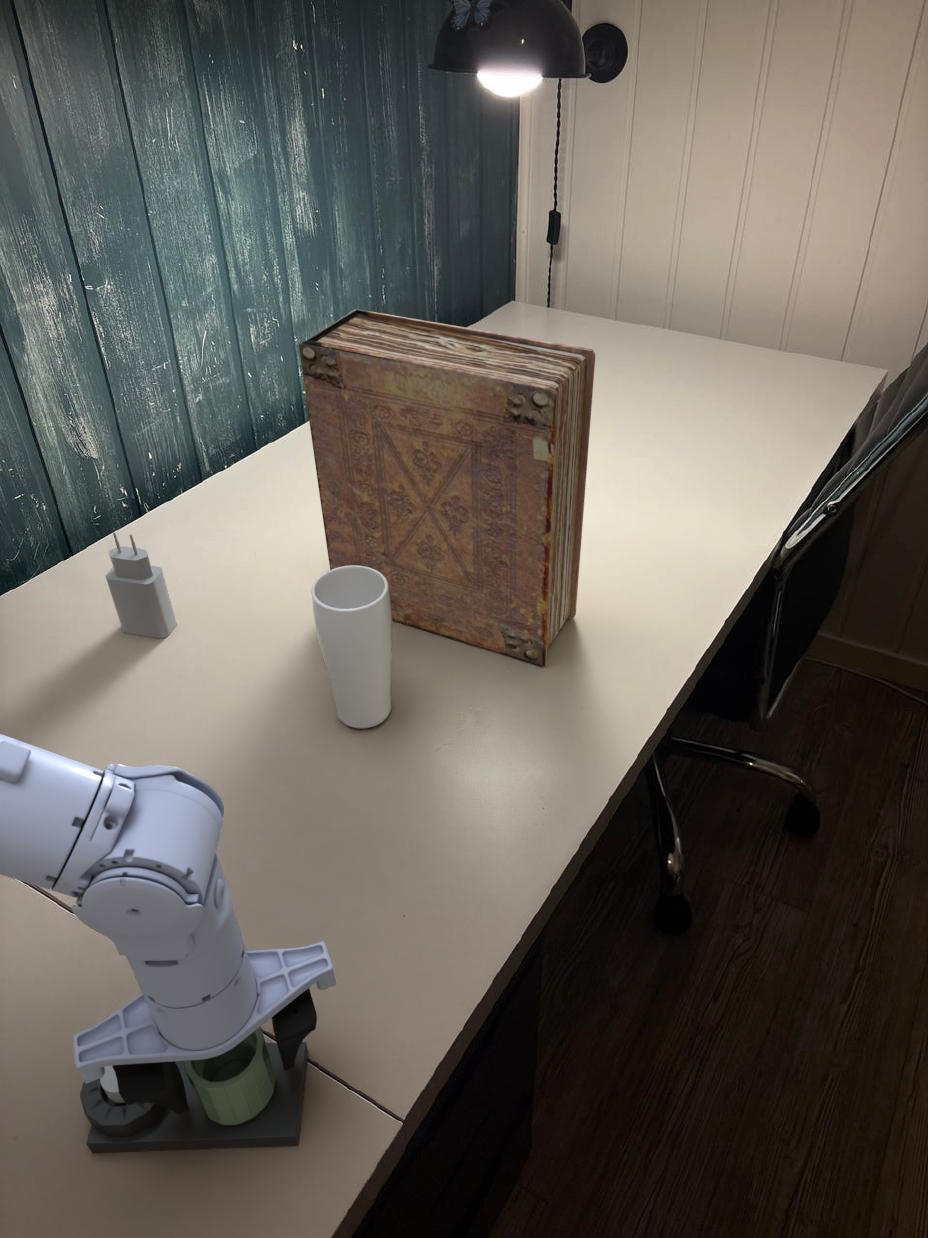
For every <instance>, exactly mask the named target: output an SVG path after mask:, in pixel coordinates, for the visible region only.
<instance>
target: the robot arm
mask: <svg viewBox="0 0 928 1238" xmlns="http://www.w3.org/2000/svg"><path fill="white" fill-rule="evenodd" d="M224 806H225V805H224V803H223V800H222V798H221V796H220V795H219V793H218V791H216V790H215V789H214V788H213V787H212V786H211V785H210V784H209V783H208V782H207V781H205V780H203V779H201V777H198V776H196V775H194V774H192V773H189V772H187V771H186V770H184V769H182V768H180V767H177V766H170V765H164V764H163V765H160V764H151V765H149V764H148V765H141V766H128V765H124V764H121V763H116V764H112V763H107V764H106V766H105V767H104V769H103V770H102V769H99V768H97V767H94V766H92V765H88V764H86V763H83V762H80V761H78V760H74V759H72V758H69V757H66V756H63V755H60V754H58V753H55V752H52V751H50V750H46V749H43V748H42V747H38V746H35V745H33V744H30V743H27V742H25V741H22V740H19V739H16V738H13V737H10V736H7V735H5V734H3V733H0V876H4V877H7V878H10V879H13V880H16V881H19V882H23V883H27V884H30V885H32V886H36V887H39V888H43V889H46V890H51V891H53V892H55V893H58V894H62V895H66V896H69V897H72V898H76V900H75V904H76V905H72V906H71V907H70V910H71V911H72V913H73V914H74V915H75V917H76V918H77V919H78V920H79V921H80V922H81V923H82V924H84V926H86V927H88V928H89V929H91V930H92V931H94V932H97V933H98V934H100V935H103V936H104V937H106V938H108V939H109V940H110V941H111V942H112V943H113V944H114V946H115V948H116V950H117V952H118V955H120V956H124V957H126V959H127V961H128V964H129V967H130V968H131V971H132V972H133V975H134V977H135V979H136V981H137V984H138V986H139V988H140V991H141V993H140V994H138V995H137V996H135V997H134V998H132V999H131V1000H130V1001H128V1002H127V1003H125V1004H124V1005H123V1006H121V1007H120V1008H118V1009H117V1010H115V1011H114V1012H113V1013H112V1014H109V1016H107V1017H106V1018H103V1020H101V1021H99V1022H98V1023H96V1024H95V1025H93V1026H91V1027H89V1028H87V1029H85V1030H82V1031H80V1032H78V1033H75V1034H73V1035H72V1046H73V1055H74V1065H75V1069H76V1071H77V1072H78V1074H79V1076H80V1077H81V1079H82V1081H83V1082H85V1083H86V1084H87V1083H89V1082H92V1081H94V1080H97V1079H99V1078H101V1077H103V1075H104V1073H105V1069H104V1067H105V1066H113V1069H114V1071H115V1075H116V1077H117V1082H118V1090H119V1094H120V1096H121V1097H122V1099H123V1100H124V1101H125V1102H126V1103H127V1104H128V1105H132V1104H136V1103H153V1104H158V1105H161V1106H163V1107H166V1108H168V1109H170V1110H171V1111H173V1112H175V1113H176V1114H178V1115H181V1114H183V1113H186V1112H188V1111H189V1109H188V1103H187V1098H186V1093H185V1087H184V1082H183V1079H182V1076H181V1073H180V1070H179V1068H178V1066H177V1064H176V1063H175V1061H187V1060H201V1059H208V1058H212V1057H216V1056H218V1055H221V1054H223V1053H225V1052H227V1051H229V1050H231V1049H232V1048H233V1047H235V1046H236V1045H238V1044H239V1043H240V1042H241V1041H243V1040H244V1039H245V1038H246V1037H248V1036H249V1035H250V1034H251V1033H253V1032H254V1031H255V1030H257V1029H258V1028H259V1027H260V1026H261V1027H262V1025H264V1024H265V1023H267V1022H268V1021H269V1020H270V1019H271V1023H272V1030H273V1031H272V1032H273V1035H274V1038H275V1041H276V1042H275V1043H277V1046H278V1049H279V1053H280V1056H281V1060H282V1064H283V1067H284V1071H286V1070H289V1069H291V1068H293V1067H294V1066H295V1059H296V1055H297V1052H298V1049H299V1047H300V1044H301V1043H302V1042H304V1040H305V1039H306V1037H308V1035H309V1034H311V1033H312V1032H314V1031H315V1030H316V1029H317V1023H318V1014H317V1009H316V1006H315V1003H314V1000H313V997H312V992H311V989H310V988H311V987H313V986H314V985H316V988H317V989H318V990H319V991H325V990H328V989H329V988H332V987H335V986H336V985H337V980H336V975H335V969H334V966H333V963H332V959H331V957H330V955H329V954H330V953H329V951H328V949H327V946H326V943H325V941H324V940H322V941H319V942H315V943H313V944H312V943H311V944H309V945H305V946H299V947H298V946H297V947H288V948H270V949H256V950H255V949H254V950H247V948H246V947H247V946H246V944H245V941H244V938H243V934H242V931H241V927H240V924H239V921H238V917H237V912H236V910H235V907H234V903H233V900H232V897H231V893H230V890H229V886H228V884H227V881H226V878H225V874H224V871H223V867H222V864H221V861H220V858H219V855H218V853H217V848H218V846H219V841H220V838H221V833H222V829H223V821H224V820H223V818H224V814H225V807H224Z"/></svg>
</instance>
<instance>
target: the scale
mask: <svg viewBox="0 0 928 1238" xmlns="http://www.w3.org/2000/svg"><path fill="white" fill-rule="evenodd" d="M266 1045H267V1049H268V1052H269V1055H270V1058H271V1062H272V1065H273V1069H274V1073H275V1078H276V1079H275V1085H274V1092H273V1094H272V1096H271V1098H270V1100H269V1101H268V1103H267V1105H266V1106H265V1108H264V1109H262V1110H261V1111H260V1112H259V1113H258V1114H257V1115H256V1116H255V1117H253V1118H252V1119H250V1120H247V1121H245V1122H243V1123H240V1124H238V1125H222V1124H219V1123H217V1122H215V1121H213V1120H210V1119H209V1118H208V1116H207V1115H206V1114H205V1112H204V1111H203V1110H202V1108H201V1106H200V1104H199V1101H198V1099H197V1097H196V1095H195V1092H194V1090H193V1088H192V1086H191V1083H190V1081H189V1079H188V1076H187V1074H186V1072H185V1068H184V1063H183V1061H175V1063H176V1064H177V1066H178V1068H179V1070H180V1073H181V1076H182V1079H183V1082H184V1087H185V1093H186V1098H187V1103H188V1109H189V1111H188V1112H186V1113H183V1114H181V1115H178V1114H176V1113H175V1112H173V1111H171V1110H170V1109H168V1108H166V1107H163V1106H161V1105H158V1104H153V1103H136V1104H132V1105H128V1104H127V1103H115V1102H113V1101H111V1100H110V1099H109V1098H108V1096H107V1094H106V1093H105V1091H104V1089H103V1087H102V1086H101V1082H100V1078H99V1079H97V1080H94V1081H92V1082H89V1083H87V1084H86V1083H85V1082H84V1081H83V1082H82V1085H81V1089H80V1092H79V1098H80V1101H81V1105H82V1108H83V1113H84V1116H85V1117H86V1118H87V1120H88V1122H89V1123H90V1125H91V1126H90V1129H89V1133H88V1136H87V1140H86V1143H85V1144H86V1146H87V1147H88V1149H89V1150H90V1152H91V1153H92V1154H103V1153H106V1154H107V1153H134V1152H158V1151H159V1152H161V1151H185V1150H186V1151H188V1150H217V1149H238V1148H239V1149H241V1148H242V1149H243V1148H246V1149H247V1148H267V1147H268V1148H269V1147H270V1148H271V1147H272V1148H273V1147H297V1146H299V1145H300V1138H301V1137H300V1136H301V1128H302V1127H301V1126H302V1119H303V1118H302V1117H303V1109H304V1100H305V1099H304V1098H305V1090H306V1089H305V1088H306V1081H307V1070H308V1062H309V1061H308V1060H309V1047H308V1044H307V1041H302V1043H301V1044H300V1047H299V1049H298V1052H297V1055H296V1059H295V1066H294V1067H293V1068H291V1069H289V1070H286V1071H284V1067H283V1064H282V1060H281V1056H280V1053H279V1049H278V1046H277V1042H266Z"/></svg>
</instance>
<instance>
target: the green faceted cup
mask: <svg viewBox="0 0 928 1238" xmlns="http://www.w3.org/2000/svg"><path fill="white" fill-rule="evenodd" d="M266 1043H267V1042H266V1039H265V1036H264V1033H263V1029H262V1026H260V1027H259V1028H258V1029H257V1030H255V1031H254V1032H253V1033H251V1034H250V1035H249V1036H248V1037H246V1038H245V1039H244V1040H243V1041H241V1042H240V1043H239V1044H238V1045H236V1046H235V1047H233V1048H232V1049H231V1050H229V1051H227V1052H225V1053H223V1054H221V1055H218V1056H216V1057H212V1058H208V1059H201V1060H187V1061H183V1063H184V1068H185V1072H186V1074H187V1076H188V1079H189V1081H190V1083H191V1086H192V1088H193V1090H194V1092H195V1095H196V1097H197V1099H198V1101H199V1104H200V1106H201V1108H202V1110H203V1111H204V1112H205V1114H206V1115H207V1116H208V1118H209V1119H210V1120H213V1121H215V1122H217V1123H219V1124H222V1125H238V1124H240V1123H243V1122H245V1121H247V1120H250V1119H252V1118H253V1117H255V1116H256V1115H257V1114H258V1113H259V1112H260V1111H261V1110H262V1109H264V1108H265V1106H266V1105H267V1103H268V1101H269V1100H270V1098H271V1096H272V1094H273V1092H274V1085H275V1079H276V1078H275V1073H274V1069H273V1065H272V1062H271V1058H270V1055H269V1052H268V1049H267V1045H266Z"/></svg>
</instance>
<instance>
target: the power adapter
mask: <svg viewBox="0 0 928 1238" xmlns="http://www.w3.org/2000/svg"><path fill="white" fill-rule="evenodd" d="M112 535H113V539H114V541H115V546H116V547H115V548H112V549H109V550H108V555H109V558H110V561H111V564H112V567H111V568H110V569H109V570H108V572H107V573H106V574H105V581H106V583H107V586H108V590H109V592H110V596H111V598H112V602H113V605H114V608H115V611H116V615H117V617H118V620H119V623H120V626H121V629H122V632H123V633H124V634H128V635H134V636H143V637H148V638H154V639H155V638H156V639H166V638H167V637H168V636H170V634H171V633H172V632H173V631H174V629H175V628H176V627H177V625H178V622H177V618H176V614H175V611H174V608H173V604H172V599H171V595H170V593H169V592H170V591H169V589H168V586H167V585H168V584H167V582H166V577H165V575H164V570H163V568H162V567H160V566H156V565H152V564H151V560H150V556H149V554H148V552H147V551H148V550H146V549H145V548H139V547H137V545H136V542H135V540H134V537H133V534H131V533H130V534H129V535H128V536H129V538H130V542H131V546H132V547H131V546H121V545H120V542H119V539H118V536H117V532H115V531H113V532H112Z"/></svg>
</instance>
